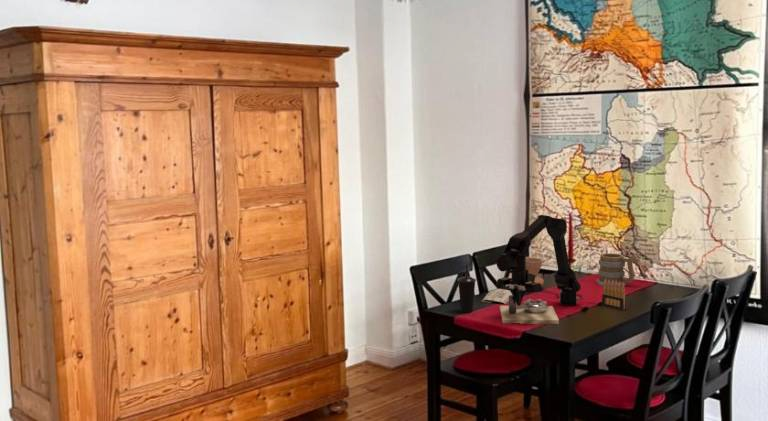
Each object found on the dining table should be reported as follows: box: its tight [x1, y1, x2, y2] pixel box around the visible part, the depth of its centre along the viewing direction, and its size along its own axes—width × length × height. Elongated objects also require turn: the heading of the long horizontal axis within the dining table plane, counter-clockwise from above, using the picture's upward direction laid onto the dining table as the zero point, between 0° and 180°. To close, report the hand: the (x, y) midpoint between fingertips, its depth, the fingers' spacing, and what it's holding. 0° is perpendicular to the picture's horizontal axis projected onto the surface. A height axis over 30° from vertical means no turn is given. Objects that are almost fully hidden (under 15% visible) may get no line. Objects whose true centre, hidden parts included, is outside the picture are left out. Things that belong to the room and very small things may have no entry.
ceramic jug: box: [526, 256, 545, 288], centre depth 371 cm, size 18×14×14 cm
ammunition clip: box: [601, 278, 627, 311], centre depth 336 cm, size 11×2×12 cm, turn 40°
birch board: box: [499, 305, 560, 325], centre depth 325 cm, size 22×22×2 cm
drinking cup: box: [457, 263, 477, 313], centre depth 333 cm, size 8×8×20 cm
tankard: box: [596, 252, 640, 288], centre depth 376 cm, size 20×13×15 cm, turn 43°
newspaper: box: [481, 288, 512, 305], centre depth 357 cm, size 23×12×2 cm, turn 157°
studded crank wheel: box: [508, 295, 547, 314], centre depth 326 cm, size 17×9×7 cm, turn 114°
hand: (519, 305), depth 320 cm, fingers closed
